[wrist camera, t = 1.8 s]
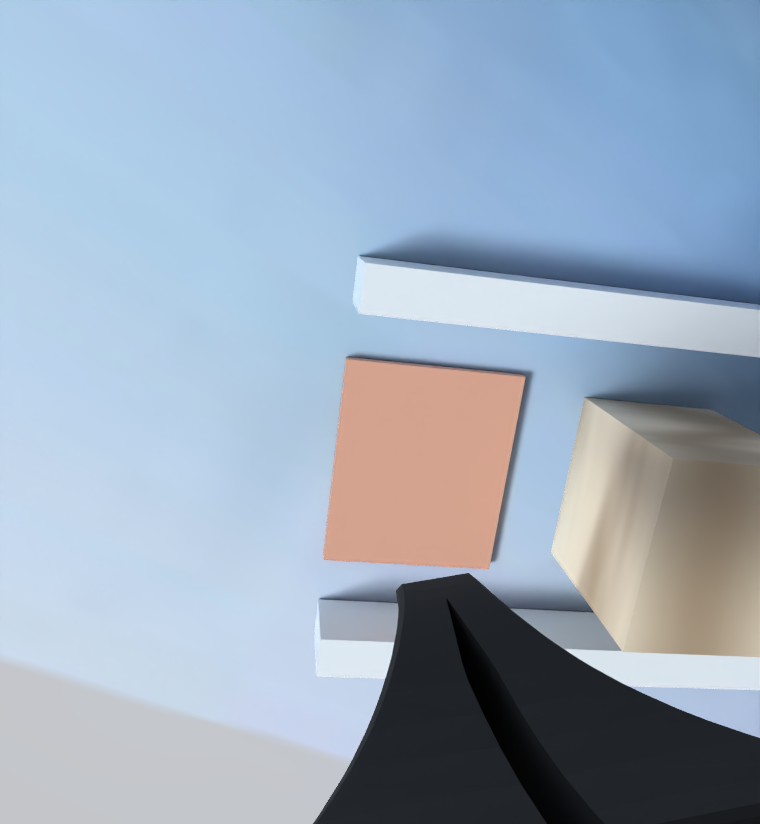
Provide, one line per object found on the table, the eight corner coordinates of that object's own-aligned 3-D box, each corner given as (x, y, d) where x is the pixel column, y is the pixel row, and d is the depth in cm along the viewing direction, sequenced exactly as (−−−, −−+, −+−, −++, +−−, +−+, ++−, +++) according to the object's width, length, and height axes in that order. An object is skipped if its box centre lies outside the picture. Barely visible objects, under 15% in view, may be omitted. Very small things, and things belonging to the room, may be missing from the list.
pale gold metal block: (710, 408, 21) (833, 472, 16) (669, 558, 22) (772, 657, 17) (584, 396, 20) (673, 458, 15) (550, 551, 21) (622, 651, 17)
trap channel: (896, 321, 20) (957, 334, 19) (784, 652, 24) (827, 692, 22) (357, 256, 18) (364, 262, 16) (314, 633, 21) (316, 676, 19)
